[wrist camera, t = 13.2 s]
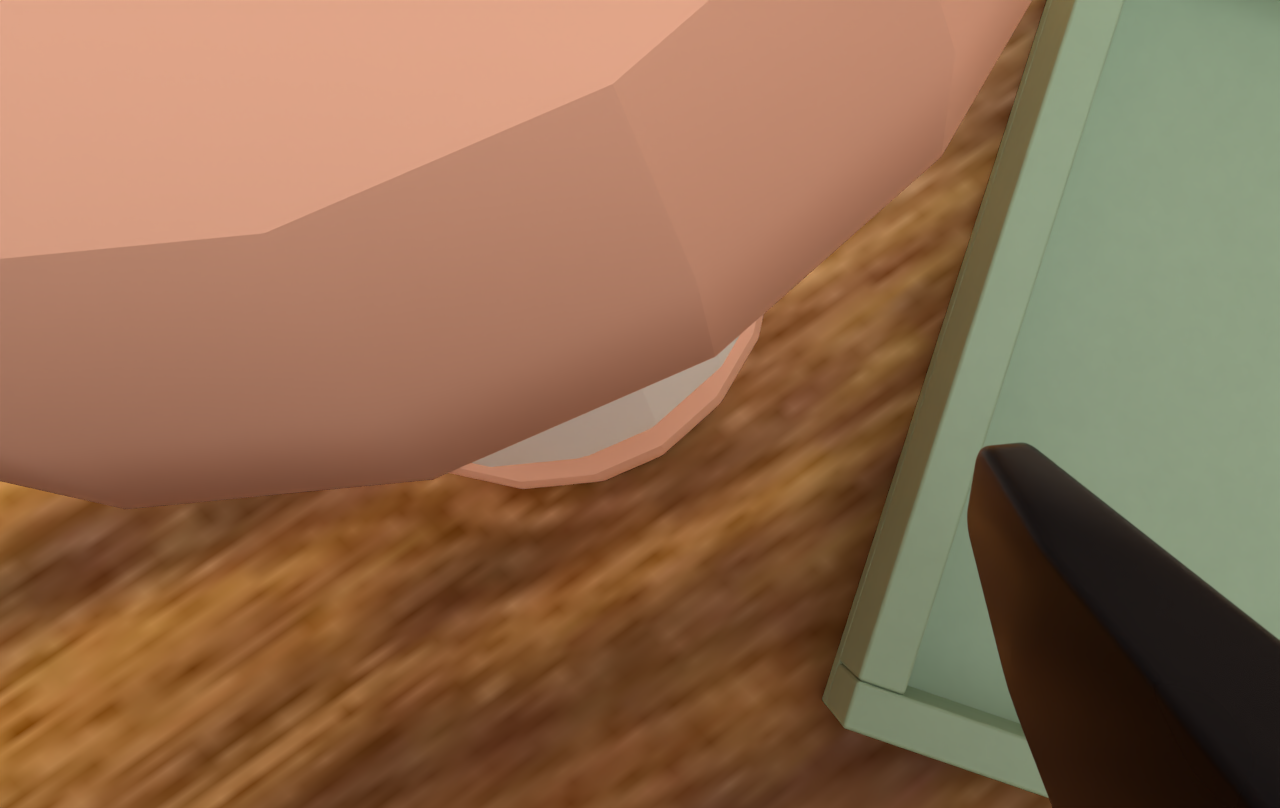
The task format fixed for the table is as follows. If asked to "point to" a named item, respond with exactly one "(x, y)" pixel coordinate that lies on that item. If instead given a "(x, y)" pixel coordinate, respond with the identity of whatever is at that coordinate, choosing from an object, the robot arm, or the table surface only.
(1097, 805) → the robot arm
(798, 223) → the pepper shaker
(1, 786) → the table surface
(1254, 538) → the tray
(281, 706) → the table surface
